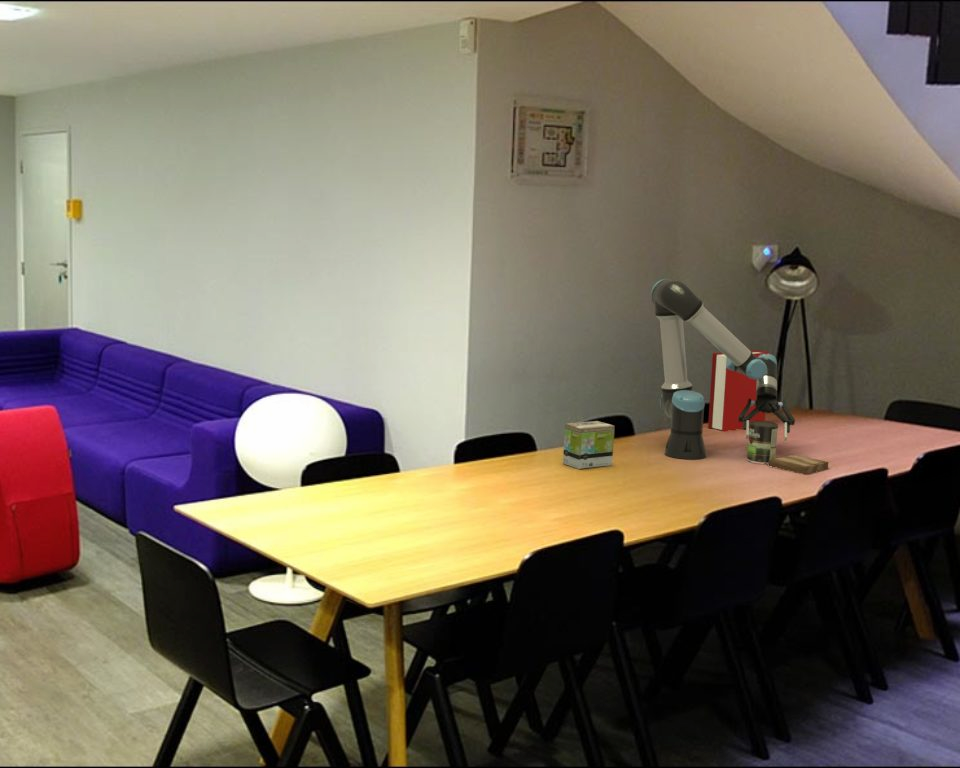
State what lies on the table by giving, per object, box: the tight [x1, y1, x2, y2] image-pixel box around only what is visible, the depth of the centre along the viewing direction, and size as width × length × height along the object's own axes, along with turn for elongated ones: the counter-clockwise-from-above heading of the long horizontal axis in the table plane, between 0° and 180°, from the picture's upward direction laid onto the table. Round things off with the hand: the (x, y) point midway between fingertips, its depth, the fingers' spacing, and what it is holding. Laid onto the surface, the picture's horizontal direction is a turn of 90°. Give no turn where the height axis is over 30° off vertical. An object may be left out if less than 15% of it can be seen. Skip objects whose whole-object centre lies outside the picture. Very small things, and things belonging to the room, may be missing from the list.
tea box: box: [562, 420, 615, 470], centre depth 382 cm, size 15×10×15 cm, turn 123°
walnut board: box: [767, 454, 829, 475], centre depth 388 cm, size 15×15×3 cm
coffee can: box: [746, 420, 779, 463], centre depth 396 cm, size 10×10×14 cm
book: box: [707, 349, 771, 432], centre depth 458 cm, size 27×8×32 cm, turn 124°
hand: (766, 438), depth 397 cm, fingers open, 13 cm apart
